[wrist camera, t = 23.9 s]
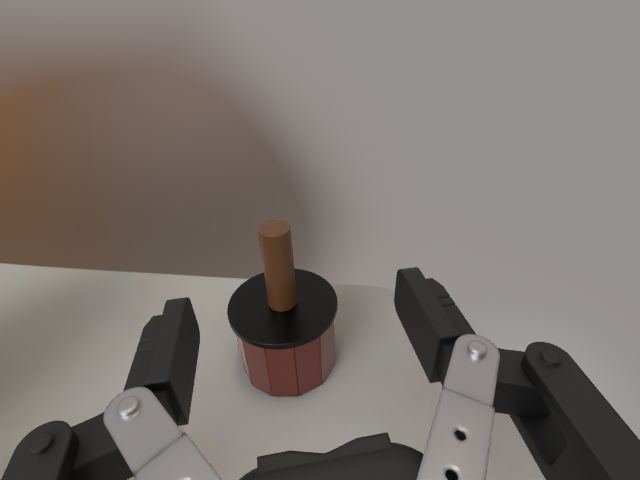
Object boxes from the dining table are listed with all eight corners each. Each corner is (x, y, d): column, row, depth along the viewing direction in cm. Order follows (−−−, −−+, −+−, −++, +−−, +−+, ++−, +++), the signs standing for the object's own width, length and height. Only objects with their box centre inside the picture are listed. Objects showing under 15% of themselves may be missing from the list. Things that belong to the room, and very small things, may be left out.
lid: (355, 292, 35) (358, 214, 30) (298, 369, 28) (290, 282, 23) (272, 262, 39) (263, 190, 35) (204, 322, 32) (181, 241, 28)
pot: (349, 342, 39) (350, 292, 35) (302, 413, 32) (298, 362, 28) (279, 312, 43) (273, 265, 39) (225, 370, 36) (212, 320, 32)
